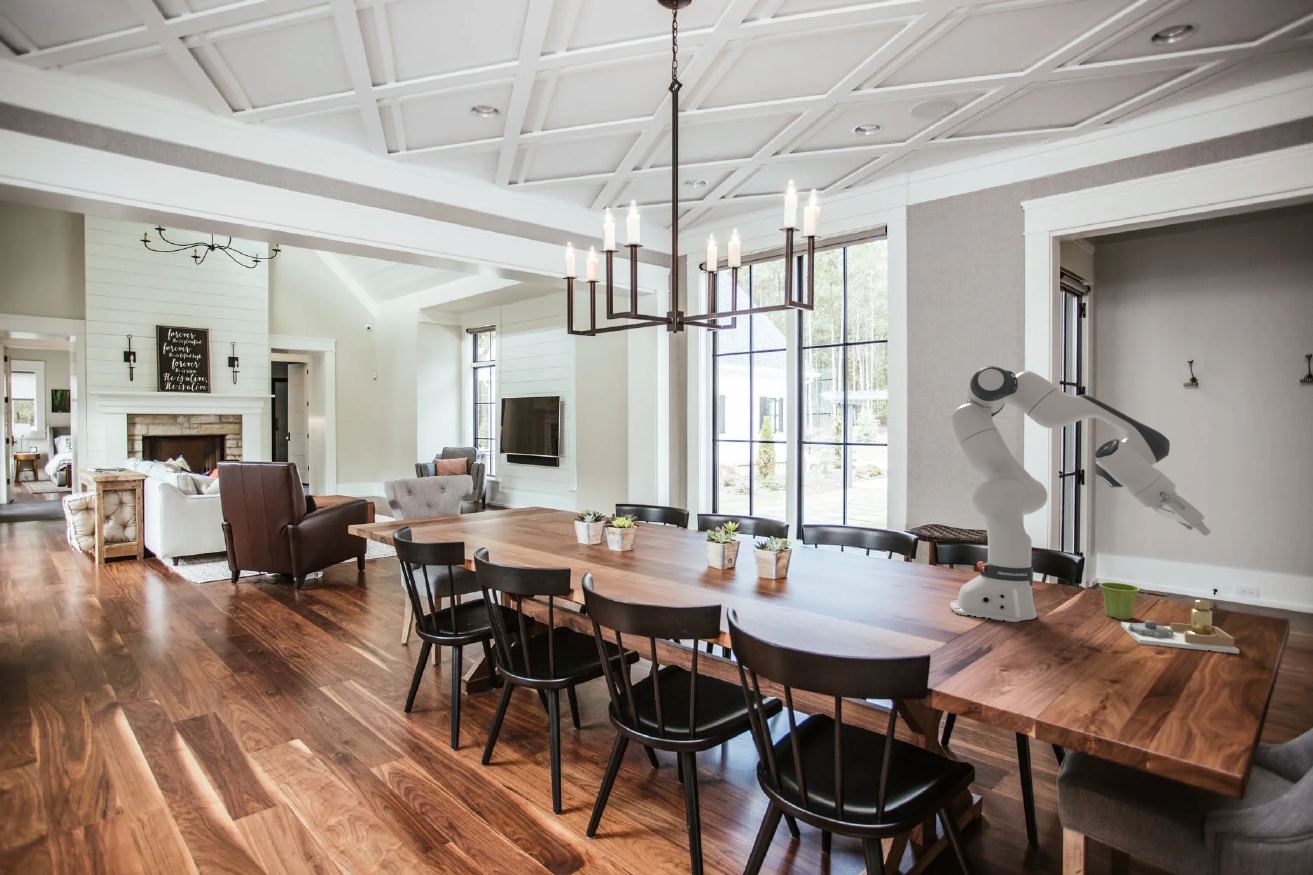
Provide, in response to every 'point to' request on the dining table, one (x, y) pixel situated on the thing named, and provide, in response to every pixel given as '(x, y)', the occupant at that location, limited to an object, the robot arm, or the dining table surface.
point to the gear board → (1179, 636)
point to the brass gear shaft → (1201, 619)
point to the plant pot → (1119, 599)
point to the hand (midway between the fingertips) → (1199, 530)
